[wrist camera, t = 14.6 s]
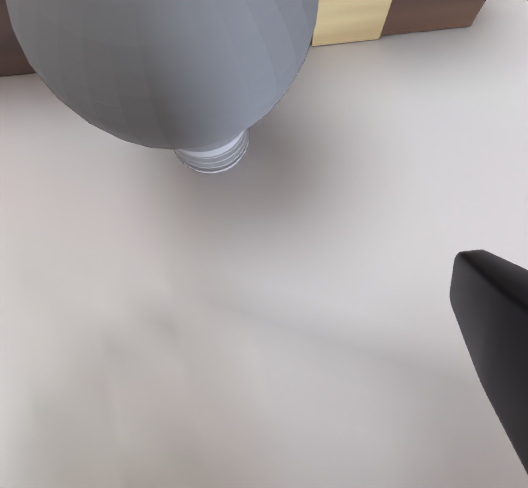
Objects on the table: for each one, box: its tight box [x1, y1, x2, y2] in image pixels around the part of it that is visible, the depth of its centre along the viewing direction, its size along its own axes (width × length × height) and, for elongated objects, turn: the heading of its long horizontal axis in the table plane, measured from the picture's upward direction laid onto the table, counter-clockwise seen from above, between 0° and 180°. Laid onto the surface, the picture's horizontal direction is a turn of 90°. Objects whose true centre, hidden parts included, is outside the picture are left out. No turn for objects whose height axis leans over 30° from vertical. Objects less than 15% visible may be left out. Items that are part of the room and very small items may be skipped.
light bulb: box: [6, 0, 319, 173], centre depth 12 cm, size 6×6×10 cm
